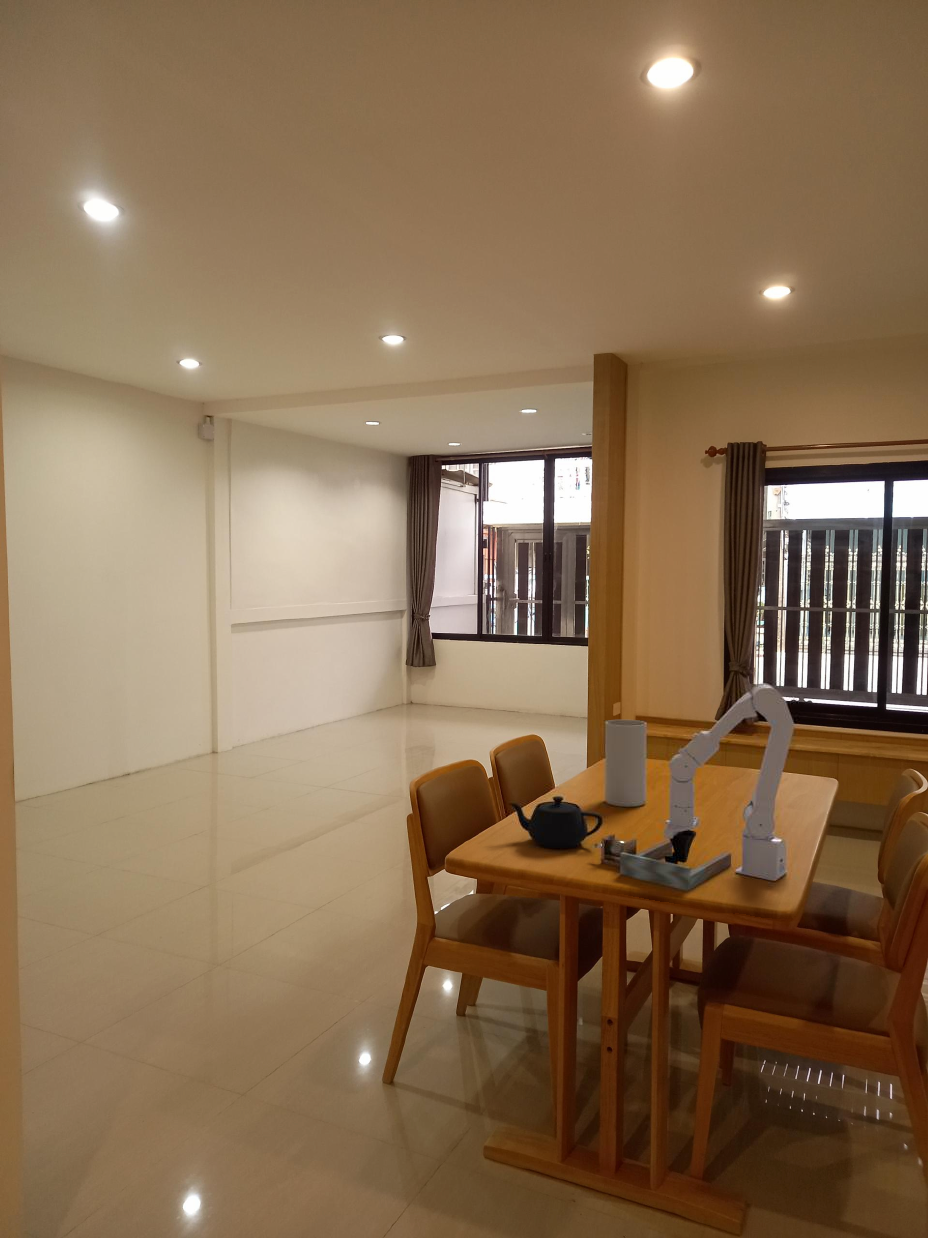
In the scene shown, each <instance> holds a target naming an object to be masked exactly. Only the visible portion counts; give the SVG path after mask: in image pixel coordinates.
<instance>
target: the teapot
mask: <svg viewBox="0 0 928 1238" xmlns="http://www.w3.org/2000/svg"><path fill="white" fill-rule="evenodd" d="M563 800H564V797H563V796H559V795H558V796H556V795H555V796H553V797H552V801H543V802H540V803H538V804H536V806H535V807H534V810H533V811H532V813H531V816H530V818H528V817H526V816H525V814H524V811H523V809H522V807H521V805H520V804H518V803H514V802H513V803H511V802H509V803H508V805H510V806H511V807H513V808H514V810H515V811H516V814H517V818H518V821H519V825H520V826H521V828H522V829H524V830H525V831H526V832H528V834H529V836H530V838H531V839H532V840H533V841H534V842H535V843H536V844H537V845H539V846H542V847H544V848H549V849H558V850H560V849H561V850H562V849H571V848H574V847H577V846H580V844H581V843H582V842H583V841H584V840H585V839H587V837H590V836H591V835H593V834H595V833H597V832H598V831H599V830H600V828H601V827H602V826H603V823H604V821H603V820H604V819H603V816H602V815H601V814H600V813H595V812H589V811H582V809H581V807H580V806H579V805H578V804H576V803H573V802H568V801H563ZM585 817H593V818H596V819H597V822H596V825H595V826H594V828H593V829H591V830H590V831H589V827H588V824H587V821H586V818H585Z"/></svg>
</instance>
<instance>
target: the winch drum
mask: <svg viewBox="0 0 928 1238" xmlns="http://www.w3.org/2000/svg"><path fill="white" fill-rule="evenodd" d="M600 841H601V844H600V843H594V848H596V849H600V851H601V852H600V853H601V855H600V856H601V857H600V863H601V864H605V865H608V866H613V867H618V868H620V858H621V853H622V852H623V853H628V854H632V855H636V854H637V838H631V839H629V840H628V841H627V840H626V841H623V840H619V839H616V834H614V833H610V834H609V835H607V836H604V837H602V838H601V839H600Z"/></svg>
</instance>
